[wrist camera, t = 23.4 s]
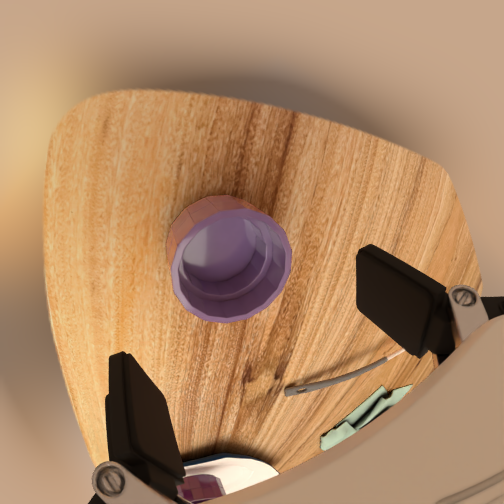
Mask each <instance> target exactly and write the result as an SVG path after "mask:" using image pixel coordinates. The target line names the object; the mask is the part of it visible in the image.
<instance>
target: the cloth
mask: <svg viewBox="0 0 504 504" xmlns="http://www.w3.org/2000/svg"><path fill="white" fill-rule="evenodd" d="M412 385H413V384H411V385H408V386H405V387H401V388H398V389H395V390H393V391H392V392H391V394H390V395H389V396H388V393H387V391H386V389H385V388H384V387H383V386H381V387H380V388H379V389H378V390H376V391H375V392H374V393H373V394H372V395H371V396H370V397H369V398H368V399H366V400H365V401H364V402H363V403H362V404H361V405H360V406H358V407H357V408H356V409H355V410H354V411H353V412H351V413H350V414H349V415H348V416H347V417H345V418H344V419H343V420H342V421H340V422H339V423H338V424H337V426H336V428H335V429H332V430H331V431H329V432H328V433H327V434H325V435H322V436H321V442H320V444H321V445H320V448H321V449H322V450H323V451H324V450H328V449H330V448H331V447H333V446H335V445H336V444H338V443H340V442H341V441H343V440H345V439H346V438H348V437H349V436H351V435H353V434H354V433H356V432H357V431H359V430H360V429H362V428H363V427H365V426H366V425H368V424H369V423H370V422H372V421H373V420H375V419H376V418H377V417H379V416H380V415H382V414H383V413H384V412H386V411H387V410H388V409H390V408H391V407H392V406H393V405H395V404H396V403H397V402H399V401H400V400H401V399H402V398H403V396H404V395H405V394H406V393H407V392H408V390H409V389H410V388H411V387H412Z"/></svg>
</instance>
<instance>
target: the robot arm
mask: <svg viewBox="0 0 504 504" xmlns="http://www.w3.org/2000/svg"><path fill="white" fill-rule="evenodd" d="M445 291H446V287H445V286H443V285H442V284H440V283H438V282H437V281H435V280H434V279H432V278H430V277H429V276H427V275H425V274H424V273H422V272H420V271H419V270H417V269H415V268H413V267H412V266H410V265H408V264H407V263H405V262H403V261H401V260H400V259H398V258H396V257H394V256H393V255H391V254H389V253H387V252H386V251H384V250H382V249H380V248H378V247H377V246H375V245H373V244H369V245H367V246H365V247H363V248H361V249H359V251H358V254H357V255H356V305H357V308H358V310H359V311H360V312H361V313H362V314H364V315H365V316H366V317H367V318H368V319H370V320H371V321H372V322H373V323H374V324H375V325H377V326H378V327H379V328H380V329H381V330H383V331H384V332H385V333H386V334H387V335H388V336H390V337H391V338H392V339H393V340H394V341H395V342H397V343H398V344H399V345H400V346H401V347H402V348H403V349H405V350H406V351H407V352H408V353H409V354H411V355H415V356H417V357H418V358H419V359H420V358H421V357H422V356H424V355H425V354H426V353H427V352H428V350H430V351H431V352H432V357H433V364H434V371H433V372H432V373H431V374H430V375H429V376H428V377H427V378H426V379H425V380H423V381H422V382H421V383H420V384H419V385H418V386H417V387H415V388H414V389H413V390H412V391H411V392H410V393H408V394H407V395H406V396H405V397H403V398H402V399H401V400H400V401H399V402H397V403H396V404H395V405H393V406H392V407H391V408H390V409H388V410H387V411H386V412H384V413H383V414H382V415H380V416H379V417H377V418H376V419H375V420H373V421H372V422H370V423H369V424H368V425H366V426H365V427H363V428H362V429H360V430H359V431H357V432H356V433H354V434H353V435H351V436H349V437H348V438H346V439H345V440H343V441H341V442H340V443H338V444H336V445H335V446H333V447H331V448H330V449H328V450H326V451H324V452H322V453H321V454H319V455H317V456H315V457H313V458H311V459H310V460H308V461H306V462H304V463H302V464H300V465H298V466H296V467H294V468H292V469H289V470H287V471H285V472H283V473H281V474H279V475H276V476H274V477H272V478H269V479H267V480H265V481H262V482H260V483H257V484H255V485H252V486H249V487H247V488H244V489H241V490H239V491H236V492H233V493H230V494H227V495H224V496H221V497H218V498H215V499H212V500H208V501H205V502H202V503H198V504H504V297H480V296H479V294H478V293H477V291H475V290H474V289H473V288H471V287H469V286H466V285H456V286H454V287H452V288H451V289H450V290H449V293H448V294H447V293H446V292H445ZM105 412H106V430H107V442H108V452H109V461H107V462H104V463H101V464H100V465H99V466H97V467H96V469H95V471H94V472H93V476H92V485H93V488H94V490H95V492H96V493H95V495H94V496H93V498H92V499H91V500H90V502H89V503H88V504H193V503H191V502H189V501H188V500H186V499H184V498H183V497H181V496H179V495H178V490H177V487H176V486H178V485H182V484H185V483H184V480H183V477H185V476H186V472H185V469H184V465H183V462H182V459H181V456H180V452H179V449H178V445H177V442H176V438H175V434H174V431H173V427H172V423H171V419H170V415H169V411H168V406H167V402H166V399H165V397H164V395H163V394H162V392H161V391H160V390H159V389H158V388H157V386H156V385H155V384H154V383H153V382H152V380H151V379H150V378H149V377H148V375H147V374H146V373H145V372H144V370H143V369H142V368H141V366H140V365H139V364H138V363H137V361H136V360H135V359H134V357H133V356H132V355H131V354H130V353H129V354H126V353H125V352H124V351H122V352H120V353H117V354H114V355H111V356H110V357H109V394H108V395H107V396H106V398H105Z"/></svg>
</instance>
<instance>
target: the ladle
mask: <svg viewBox="0 0 504 504" xmlns="http://www.w3.org/2000/svg"><path fill="white" fill-rule="evenodd" d="M404 351H405V349H403V348H400V349H399V350H397V351H395V352H393V353H392V354H390V355H388V356H386V357H384V358H382V359H380V360H378V361H376V362H374V363H372V364H370V365H367V366H365V367H363V368H360V369H358V370H356V371H353V372H350V373H347V374H345V375H342V376H339V377H336V378H332V379H328V380H324V381H319V382H314V383H309V384H305V385H300V386H294V387H289V388H285V396H292V395H297V394H301V393H307V392H311V391H314V390H318V389H321V388H325V387H328V386H331V385H334V384H337V383H340V382H343V381H346V380H348V379H351V378H354V377H356V376H358V375H361V374H363V373H365V372H367V371H369V370H371V369H373V368H375V367H377V366H379V365H381V364H383V363H385V362H387V361H388V360H390V359H391V358H393V357H395V356H397V355H398V354H400V353H402V352H404ZM301 388H305V389H304V390H300V391H297V390H299V389H301Z"/></svg>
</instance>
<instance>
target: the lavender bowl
mask: <svg viewBox="0 0 504 504" xmlns="http://www.w3.org/2000/svg"><path fill="white" fill-rule="evenodd" d="M166 252H167V259H168V266H169V271H170V276H171V281H172V286H173V291H174V293H175V295H176V296H177V298H178V299H179V301H180V302H181V303H182V305H183V306H184V308H185V309H186V310H187V311H189V312H191V313H192V314H194V315H196V316H198V317H199V318H201V319H203V320H205V321H211V322H219V323H230V322H235V321H240V320H244V319H247V318H250V317H252V316H253V315H255V314H257V313H259V312H260V311H262V310H264V309H265V308H266V307H268V306H269V305H270V304H271V303H272V302H273V301H274V299H275V298H276V297H277V296H278V295H279V294H280V293H281V291H282V290H283V288H284V286H285V283H286V281H287V279H288V277H289V274H290V271H291V259H292V249H291V246H290V244H289V241H288V238H287V236H286V233H285V231H284V230H283V229H282V228H281V227H280V226H279V225H278V224H277V223H276V222H275V221H274V220H273V219H272V218H271V217H270V216H269V215H267V214H266V213H264V212H263V211H261V210H260V209H258V208H256V207H255V206H253V205H252V204H250V203H249V202H247V201H246V200H243V199H239V198H236V197H233V196H230V195H217V196H207V197H205V198H202V199H201V200H199V201H197V202H195V203H193V204H191V205H189V206H188V207H187V208H185V209H184V210H183V211H182V212H181V214H180V215H179V216H178V217H177V218H176V220H175V221H174V222H173V223H172V226H171V228H170V232H169V235H168V238H167V242H166Z"/></svg>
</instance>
